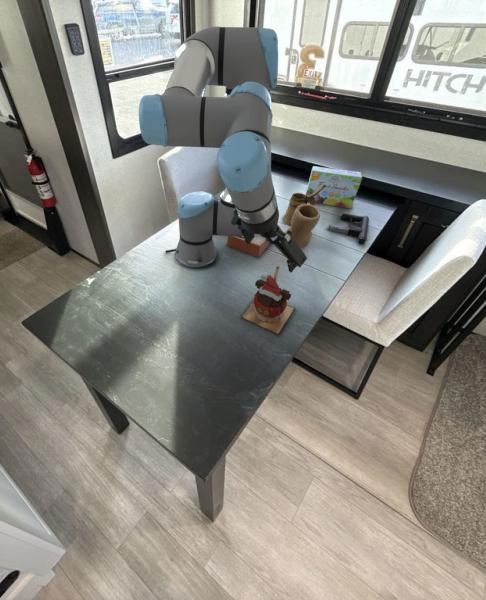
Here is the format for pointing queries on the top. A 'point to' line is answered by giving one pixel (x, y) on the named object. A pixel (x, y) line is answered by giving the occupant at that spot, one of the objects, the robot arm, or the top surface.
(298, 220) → the tan boot
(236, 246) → the orange square tray
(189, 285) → the top surface
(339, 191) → the snack box
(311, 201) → the brown watering can
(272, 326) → the cork mat
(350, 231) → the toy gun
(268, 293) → the cake
